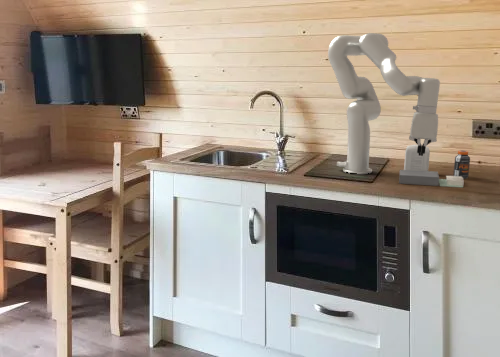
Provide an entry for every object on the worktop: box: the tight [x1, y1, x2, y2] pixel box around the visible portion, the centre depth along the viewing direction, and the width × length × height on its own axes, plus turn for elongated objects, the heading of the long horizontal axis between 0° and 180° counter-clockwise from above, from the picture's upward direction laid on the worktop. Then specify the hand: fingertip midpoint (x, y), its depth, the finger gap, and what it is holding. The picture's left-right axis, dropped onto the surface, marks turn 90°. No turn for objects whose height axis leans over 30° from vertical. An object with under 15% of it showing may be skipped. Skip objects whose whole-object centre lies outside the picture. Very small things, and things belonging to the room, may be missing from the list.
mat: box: [438, 178, 464, 188], centre depth 213 cm, size 8×12×1 cm
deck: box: [398, 169, 440, 187], centre depth 216 cm, size 15×11×4 cm
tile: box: [445, 175, 465, 187], centre depth 212 cm, size 6×8×2 cm
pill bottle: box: [452, 149, 471, 180], centre depth 223 cm, size 6×6×11 cm
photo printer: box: [403, 144, 431, 171], centre depth 232 cm, size 10×4×12 cm, turn 67°
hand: (420, 155), depth 214 cm, fingers closed
